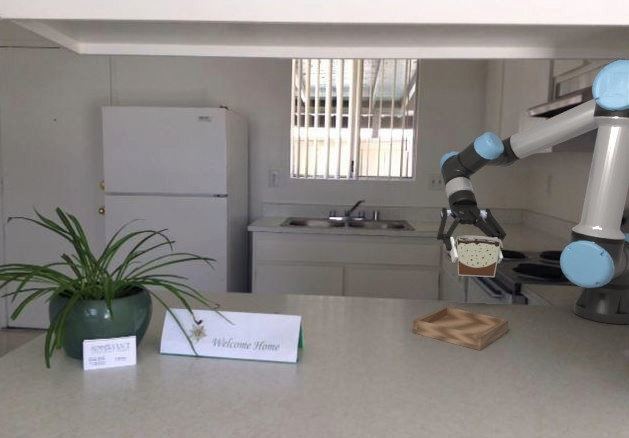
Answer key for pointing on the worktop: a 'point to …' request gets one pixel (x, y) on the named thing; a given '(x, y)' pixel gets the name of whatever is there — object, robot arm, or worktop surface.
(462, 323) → the walnut pocket tray
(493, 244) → the food container
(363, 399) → the worktop surface
